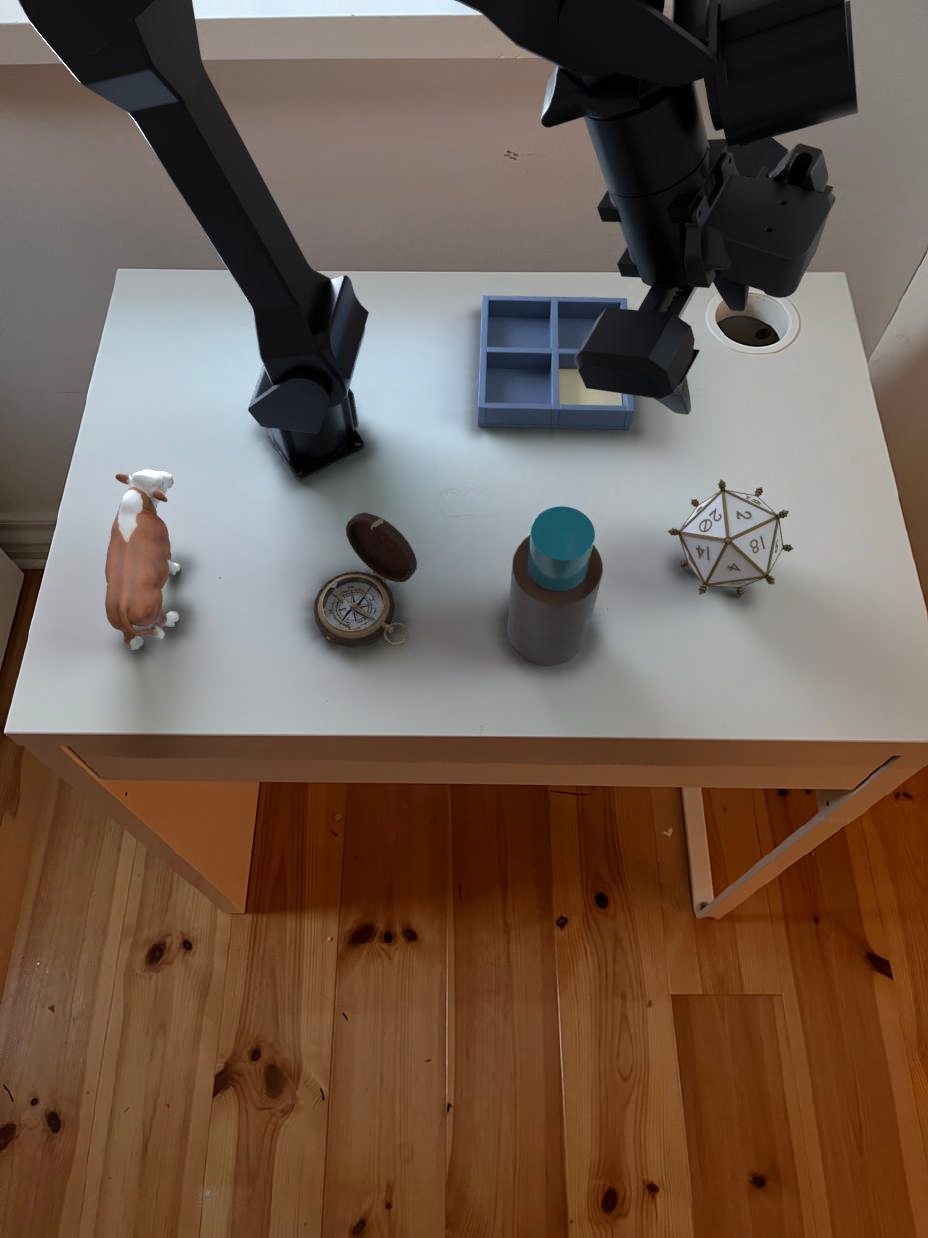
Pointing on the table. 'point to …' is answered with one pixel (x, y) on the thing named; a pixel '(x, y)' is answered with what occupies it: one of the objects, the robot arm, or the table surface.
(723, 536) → the game die
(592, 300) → the grid
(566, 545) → the cylinder
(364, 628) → the compass
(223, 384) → the table surface
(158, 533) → the bull figurine
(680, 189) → the robot arm
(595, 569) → the stand
